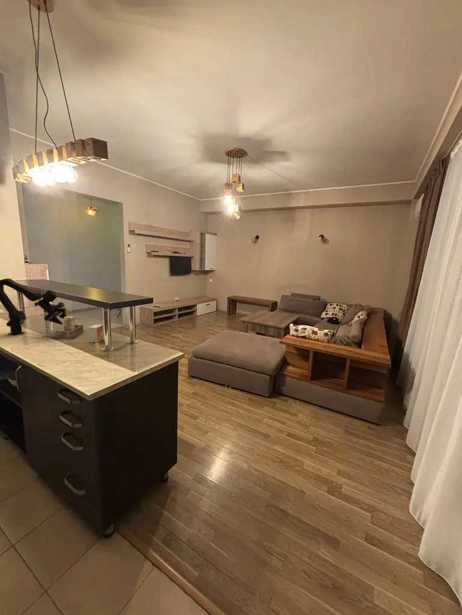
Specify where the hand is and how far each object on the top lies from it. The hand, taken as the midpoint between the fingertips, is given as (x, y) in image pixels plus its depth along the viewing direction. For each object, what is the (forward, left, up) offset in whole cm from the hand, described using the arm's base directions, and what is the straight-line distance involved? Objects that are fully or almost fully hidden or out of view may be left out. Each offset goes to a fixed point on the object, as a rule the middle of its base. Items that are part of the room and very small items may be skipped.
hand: (65, 322), depth 173 cm
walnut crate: (+2, +1, -9) cm, 9 cm away
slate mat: (-6, -3, -9) cm, 11 cm away
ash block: (+2, +1, -9) cm, 9 cm away
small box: (+27, +1, -9) cm, 28 cm away
